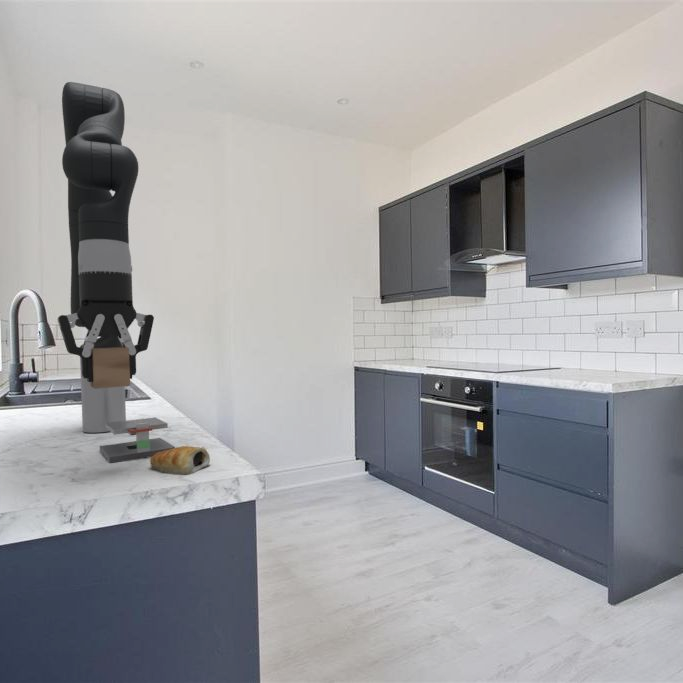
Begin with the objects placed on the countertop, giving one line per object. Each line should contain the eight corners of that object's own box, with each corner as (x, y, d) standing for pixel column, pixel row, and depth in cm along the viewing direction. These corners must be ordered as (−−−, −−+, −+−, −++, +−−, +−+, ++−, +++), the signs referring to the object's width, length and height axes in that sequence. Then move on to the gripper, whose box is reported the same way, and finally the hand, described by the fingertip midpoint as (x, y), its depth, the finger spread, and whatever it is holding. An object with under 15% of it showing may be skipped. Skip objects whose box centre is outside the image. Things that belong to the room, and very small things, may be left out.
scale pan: (105, 433, 92) (105, 423, 92) (155, 426, 97) (155, 417, 97) (116, 442, 83) (115, 431, 83) (170, 435, 88) (170, 424, 88)
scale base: (99, 451, 92) (98, 419, 92) (160, 442, 98) (159, 412, 98) (109, 463, 83) (108, 427, 83) (175, 452, 89) (174, 419, 89)
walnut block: (90, 385, 78) (88, 348, 78) (124, 383, 81) (122, 347, 81) (94, 388, 74) (93, 349, 74) (130, 385, 77) (128, 347, 77)
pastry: (139, 472, 77) (138, 448, 77) (168, 462, 84) (167, 440, 84) (188, 477, 74) (187, 452, 74) (214, 465, 80) (214, 442, 80)
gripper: (147, 276, 84) (151, 375, 84) (51, 272, 76) (55, 382, 76) (159, 271, 78) (162, 378, 78) (54, 267, 70) (59, 386, 70)
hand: (109, 379), depth 77 cm, fingers closed on walnut block, 5 cm apart
